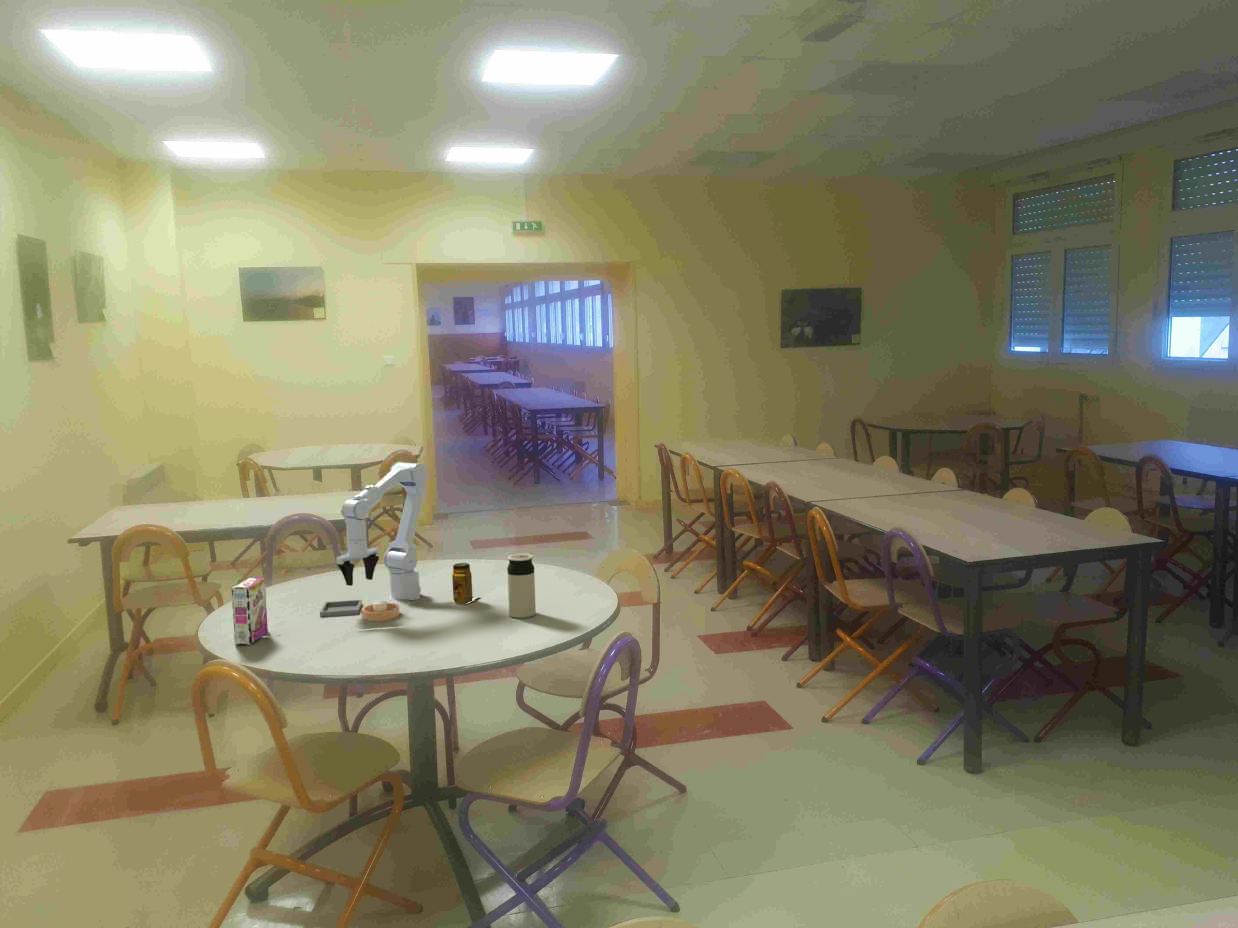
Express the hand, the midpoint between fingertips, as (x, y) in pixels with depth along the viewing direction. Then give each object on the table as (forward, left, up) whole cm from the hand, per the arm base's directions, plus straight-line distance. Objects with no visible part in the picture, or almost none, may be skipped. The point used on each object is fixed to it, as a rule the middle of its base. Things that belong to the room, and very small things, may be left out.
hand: (359, 582), depth 273 cm
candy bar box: (+28, +20, -10) cm, 35 cm away
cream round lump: (-6, +7, -9) cm, 13 cm away
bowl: (-6, +7, -9) cm, 14 cm away
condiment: (-31, -5, -10) cm, 33 cm away
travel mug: (-48, +15, -10) cm, 52 cm away
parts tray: (+6, -1, -9) cm, 11 cm away
